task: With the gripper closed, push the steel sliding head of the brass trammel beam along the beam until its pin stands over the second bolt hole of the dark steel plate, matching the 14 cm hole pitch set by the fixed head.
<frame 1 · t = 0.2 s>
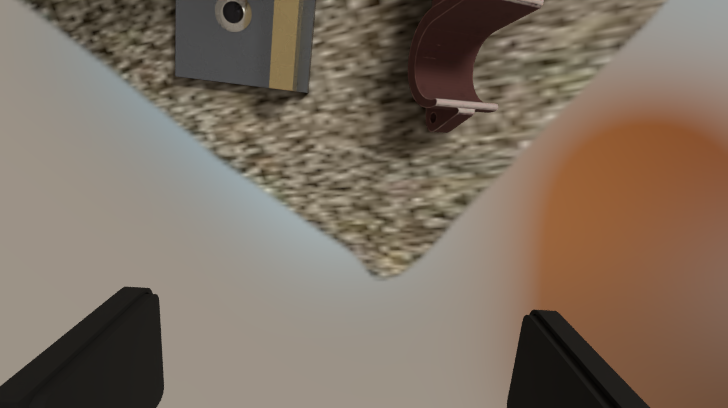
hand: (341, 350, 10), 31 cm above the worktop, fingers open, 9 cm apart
bracket: (454, 32, 38), on the worktop
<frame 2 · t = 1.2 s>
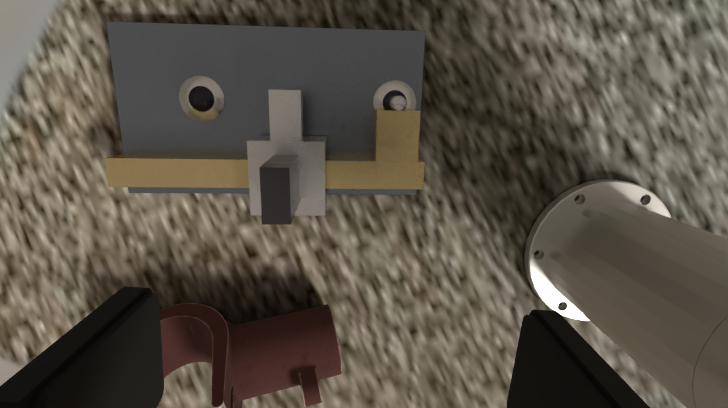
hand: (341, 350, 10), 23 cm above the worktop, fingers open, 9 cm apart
hole plate: (274, 113, 31), on the worktop
beam: (276, 165, 32), resting on hole plate
bracket: (239, 332, 36), on the worktop
slider: (285, 156, 26), point 6 cm above the worktop, slide at 7.5 cm
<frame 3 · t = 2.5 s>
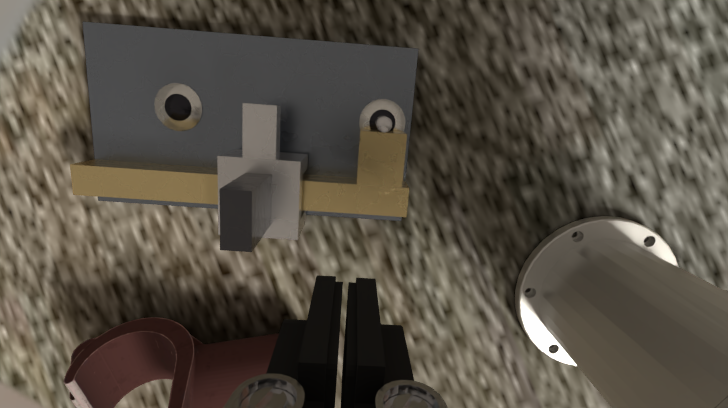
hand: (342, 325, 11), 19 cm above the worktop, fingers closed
hole plate: (255, 126, 29), on the worktop
beam: (255, 181, 30), resting on hole plate
bracket: (211, 350, 34), on the worktop
slider: (256, 174, 24), point 6 cm above the worktop, slide at 7.5 cm
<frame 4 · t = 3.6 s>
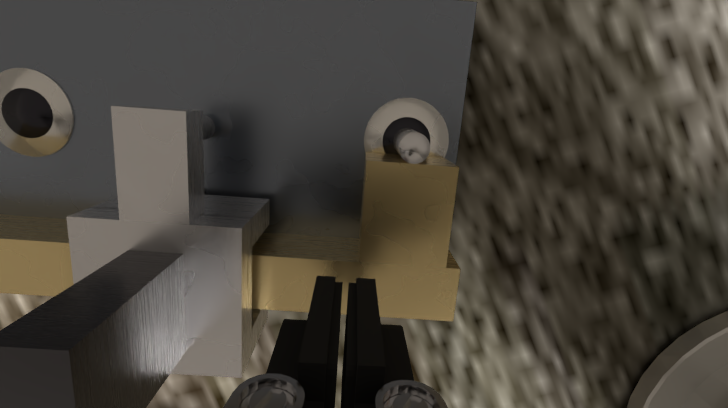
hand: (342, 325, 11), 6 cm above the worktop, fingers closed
hole plate: (178, 147, 16), on the worktop
beam: (182, 241, 17), resting on hole plate
slider: (147, 258, 11), point 6 cm above the worktop, slide at 7.5 cm
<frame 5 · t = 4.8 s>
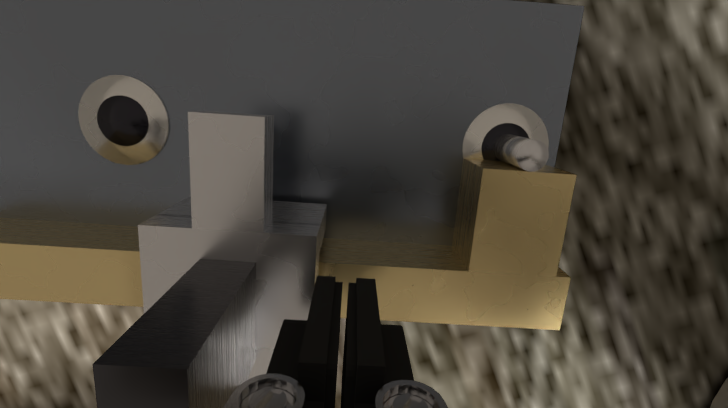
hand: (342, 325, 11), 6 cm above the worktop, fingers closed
hole plate: (268, 154, 16), on the worktop
beam: (267, 249, 17), resting on hole plate
slider: (222, 267, 11), point 6 cm above the worktop, slide at 9.0 cm, touching gripper
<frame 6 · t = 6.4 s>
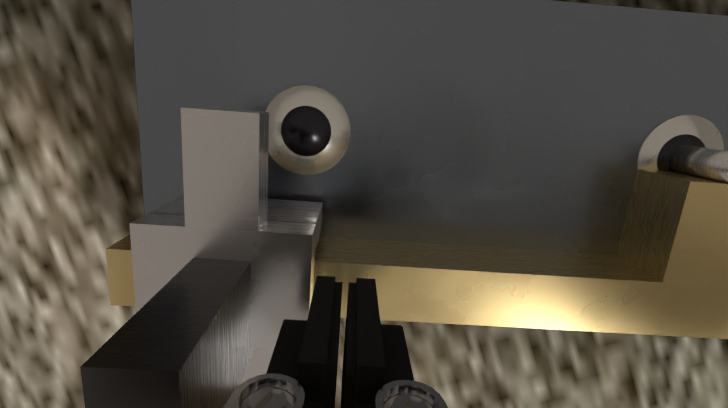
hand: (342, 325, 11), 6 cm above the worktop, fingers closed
hole plate: (434, 163, 16), on the worktop
beam: (423, 257, 17), resting on hole plate
slider: (216, 266, 11), point 6 cm above the worktop, slide at 15.8 cm
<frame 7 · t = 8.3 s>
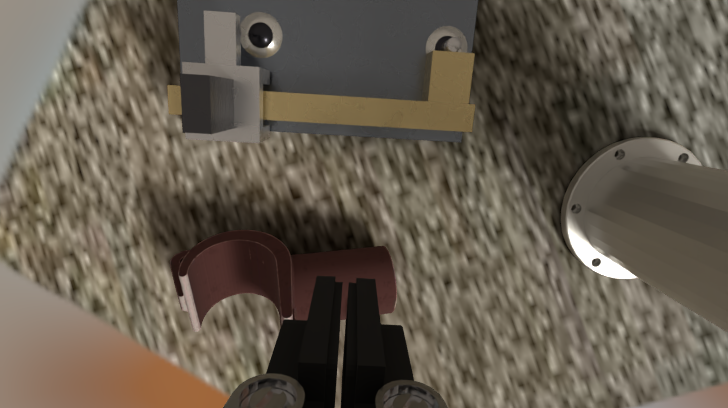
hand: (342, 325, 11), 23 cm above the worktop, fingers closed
hole plate: (328, 55, 32), on the worktop
beam: (326, 108, 33), resting on hole plate
bracket: (289, 268, 36), on the worktop
slider: (218, 78, 26), point 6 cm above the worktop, slide at 15.8 cm
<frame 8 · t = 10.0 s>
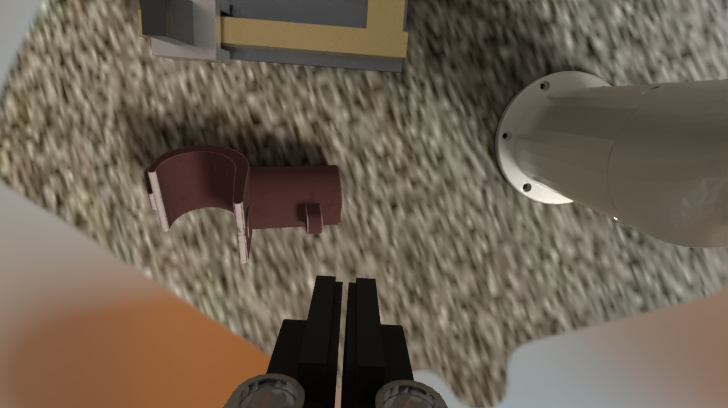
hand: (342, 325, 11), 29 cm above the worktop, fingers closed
beam: (282, 40, 37), resting on hole plate
bracket: (253, 189, 40), on the worktop
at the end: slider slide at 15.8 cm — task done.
